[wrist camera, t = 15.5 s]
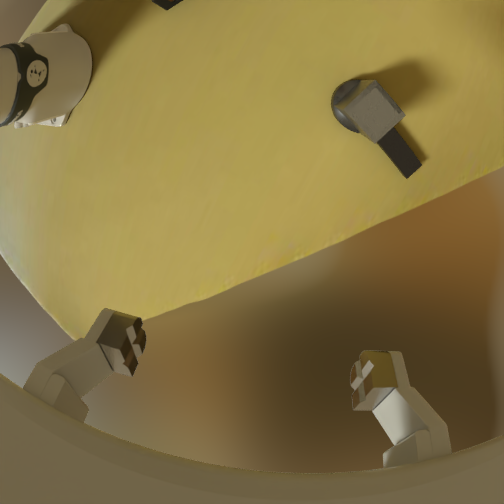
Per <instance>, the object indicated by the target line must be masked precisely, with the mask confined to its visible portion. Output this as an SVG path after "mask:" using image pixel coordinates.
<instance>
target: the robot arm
mask: <svg viewBox="0 0 504 504" xmlns="http://www.w3.org/2000/svg"><path fill="white" fill-rule="evenodd" d="M91 71H92V56H91V51H90V48H89V46H88V44H87V42H86V41H85V40H84V39H83V38H82V37H80V36H79V35H77V34H75V33H74V32H73V31H72V29H71V27H70V25H69V24H61V25H59V26H58V27H56V28H55V29H53V30H52V31H50V32H40V33H33V34H31V35H30V36H29V37H28V38H26V39H25V40H24V41H23V42H21V43H18V42H16V43H10V44H7V45H3V46H1V47H0V127H2V126H7V125H9V124H12V123H13V122H14V127H15V128H21V127H28V126H30V125H34V124H42V125H50V126H57V127H59V126H63V125H65V123H66V121H67V119H68V117H69V114H70V112H71V110H72V109H73V108H74V107H75V106H76V105H77V103H78V102H79V101H80V100H81V98H82V97H83V95H84V93H85V91H86V89H87V86H88V84H89V81H90V77H91ZM142 324H143V323H142V319H141V318H139V317H136V316H132V315H129V314H125V313H122V312H118V311H115V310H111V309H108V308H105V309H103V310H102V311H101V313H100V314H99V316H98V317H97V319H96V320H95V322H94V324H93V325H92V327H91V328H90V330H89V332H88V333H87V335H86V337H85V338H80V339H78V340H76V341H75V342H73V343H71V344H70V345H68V346H66V347H64V348H62V349H61V350H59V351H57V352H56V353H54V354H52V355H50V356H48V357H47V358H45V359H44V360H41V361H40V362H38V363H37V364H36V366H35V368H34V369H33V371H32V373H31V374H30V376H29V378H28V380H27V381H26V383H25V385H24V387H23V389H22V388H21V387H19V386H18V385H16V384H15V383H13V382H12V381H10V380H9V379H8V378H6V377H5V376H3V375H2V374H1V373H0V504H504V435H502V436H499V437H497V438H494V439H492V440H489V441H487V442H484V443H482V444H479V445H476V446H474V447H471V448H468V449H465V450H462V451H458V452H455V453H452V451H451V445H450V440H449V434H448V429H447V425H446V423H445V422H444V421H443V420H442V419H441V418H440V417H439V416H438V414H437V413H436V412H435V411H434V410H433V409H432V408H431V406H430V405H429V404H428V403H427V402H426V401H425V400H424V399H423V397H422V396H421V395H420V394H419V393H418V392H417V391H416V390H415V388H414V387H410V384H409V380H408V376H407V372H406V368H405V364H404V360H403V357H402V354H401V352H398V351H369V350H368V351H367V350H365V351H363V352H362V353H361V355H360V360H359V361H358V362H356V363H355V364H354V366H353V367H352V370H351V374H350V383H351V386H352V387H353V389H354V390H355V391H354V393H353V394H352V404H353V410H373V413H374V414H375V416H376V418H377V419H378V421H379V422H380V424H381V425H382V427H383V428H384V430H385V432H386V433H387V435H388V436H389V438H390V439H391V441H392V442H393V444H394V447H392V448H390V449H389V450H387V451H386V452H385V453H384V454H383V461H384V468H383V469H375V470H366V471H356V472H342V473H281V472H266V471H257V470H247V469H240V468H233V467H226V466H220V465H215V464H209V463H204V462H199V461H194V460H190V459H186V458H182V457H178V456H174V455H170V454H166V453H163V452H160V451H156V450H153V449H150V448H147V447H143V446H141V445H138V444H135V443H132V442H129V441H126V440H123V439H121V438H118V437H116V436H113V435H111V434H108V433H106V432H103V431H101V430H98V429H96V428H94V427H92V426H89V425H87V424H85V423H84V421H85V418H86V416H87V413H88V411H89V408H88V406H87V405H86V404H85V403H84V402H83V400H82V399H81V398H82V396H84V395H85V394H87V393H88V392H89V391H91V390H92V389H93V388H94V387H96V386H97V385H98V384H99V383H101V382H102V381H103V380H104V379H106V378H107V377H108V376H109V375H111V374H112V373H113V371H114V372H117V373H120V374H123V375H127V376H130V377H132V376H133V375H134V372H135V370H136V368H137V365H138V361H137V357H139V356H140V355H142V354H143V351H144V349H145V345H146V334H145V331H144V330H143V329H142V328H141V327H142Z"/></svg>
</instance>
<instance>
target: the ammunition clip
mask: <svg viewBox="0 0 504 504" xmlns="http://www.w3.org/2000/svg"><path fill="white" fill-rule="evenodd" d="M181 1H183V0H152V2H154V3H156V4H157V5H159V6H160V7H162V8H164V9H165V10H168V9H170V8H172V7H173V6H175V5H176V4H178V3H179V2H181Z"/></svg>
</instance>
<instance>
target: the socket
mask: <svg viewBox="0 0 504 504" xmlns="http://www.w3.org/2000/svg"><path fill="white" fill-rule="evenodd" d="M334 106H335V107H336V108H337V109H338V110H339V111H340V112H341V113H342V114H343V115H344V116H345V117H346V118H347V119H348V120H349V121H350V122H351V123H352V125H353V126H354V127H355V128H356V129H357V130H358V131H359V132H360V133H361V134H362V135H364V136H365V137H366V138H368V139H369V140H371V141H372V142H373V143H376V142H377V141H379V140H380V139H381V138H382V137H383V136H384V135H385V134H386V133H387V132H388V131H389V130H390V129H392V128H393V127H394V126H395V125H396V124H397V123H398V122H399V121H400V120H401V119H402V118H403V117H404V116H406V115H405V114H404V112H403V111H402V110H401V109H400V107H399V106H398V105H397V104H396V103H395V101H394V100H393V99H392V98H391V97H390V96H389V94H388V93H387V92H386V91H385V90H384V89H383V88H382V87H381V85H380V84H379V83H378V82H377V81H376V80H360V81H359V82H358V83H357V84H356V85H355V86H354V87H353V88H352V89H351V90H350V91H349V92H347V93H346V94H345V95H344V96H343V97H342V98H341V99H340V100H339V101H338V102H337V103H336V104H335V105H334Z"/></svg>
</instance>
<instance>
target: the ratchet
mask: <svg viewBox="0 0 504 504" xmlns="http://www.w3.org/2000/svg"><path fill="white" fill-rule="evenodd" d="M359 81H360V80H350V81H346V82H344V83H342V84H340V85H339V86H338V87H337V88H336V89H335V91H334V93H333V95H332V99H331V107H332V111H333V114H334V116H335V118H336V119H337V120H338V121H339V123H341V124H342V125H343V126H344V127H346V128H347V129H349V130H351V131H353V132H357V133H360V132H359V131H358V130H357V129H356V128H355V127H354V126H353V125H352V123H351V122H350V121H349V120H348V119H347V118H346V117H345V116H344V115H343V114H342V113H341V112H340V111H339V110H338V109H337V108H336V107H335V106H334V105H335V104H336V103H337V102H338V101H339V100H340V99H341V98H342V97H343V96H344V95H345V94H346V93H347V92H349V91H350V90H351V89H352V88H353V87H354V86H355V85H356V84H357V83H358V82H359ZM376 143H377V144H378V145H379V146H380V147H381V149H382V150H383V151H384V152H385V153H386V155H387V156H388V157H389V158H390V159H391V161H392V162H393V163H394V164H395V166H396V167H397V168H398V169H399V171H400V172H401V173H402V175H403V176H404V177H405V178H406V179H407V178H409V177H410V176H411V175H412V174H413V173H414V172H415V171H416V170H417V169H418V168H420V167H421V166H422V164H421V163H420V161H419V160H418V158H417V157H416V156H415V154H414V153H413V152H412V150H411V149H410V148H409V146H408V145H407V144H406V142H405V141H404V140H403V138H402V137H401V136H400V135H399V133H398V132H397V131H396V130H395V128H394V127H393V128H392V129H390V130H389V131H388V132H387V133H386V134H385V135H384V136H383V137H382V138H381V139H380V140H379V141H377V142H376Z"/></svg>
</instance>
